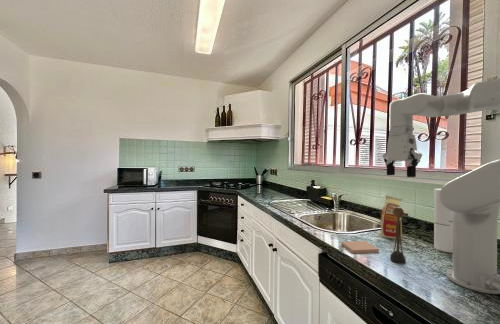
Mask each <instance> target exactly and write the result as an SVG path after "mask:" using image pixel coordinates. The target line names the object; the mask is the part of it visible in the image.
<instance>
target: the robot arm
mask: <svg viewBox="0 0 500 324" xmlns="http://www.w3.org/2000/svg"><path fill="white" fill-rule="evenodd" d="M493 110H500V78H495V79H489V80H484V81H479V82H476V83H473V84H471V86H470V87H469V88H468V89H466V90H464V91H461V92H457V93H453V94H445V95H439V96H438V95H433V94H428V93H424V92H422V93H421V92H420V93H416V94H413V95H410V96H408V97H406V98H401V99H396V100H392V101H391V102H390V103H389V120H388V121H389V127H388V128H389V129H388V131H389V132H388V133H389V135H388V140H387V146H386V147H387V148H386V152H385V153H384V154H383V155H382V159H383V161H384V163H385V166H386V175H387V176H395V174H396V173H395V172H396V171H395V170H396V169H395V168H396V167H395V163H396V162H405V163H406V164H407V166H406V177H407V178H415V177H416V176H417V175H416V174H417V167H418V165H419V163H420V162H421V159H422V157H423V154H422V153H421V152H419V151H418V146H417V140H416V139H417V138H416V135H415V134H414V133H413V131H414V130H415V128H414V126H413V125H414V123H413V121H414V116H419V117H426V118H437V117H440V118H441V117H451V116H457V115H465V114H472V113H476V112H483V111H493ZM440 189H441V191H440V201H441V203H442V204H443V205H444V206H445V207H446V208H447V209H449V210H451V211H453V212H454V216H453V253H452V268H448V269H447V270H446V271H445V275H446V277H447V278H448V279H449V280H450V281H451V282H452V283H454V284H457V285H458V286H461V287H463V288H466V289H469V290H471V291H475V292H479V293H485V294H490V295H491V294H492V295H500V274H499V273H498V223H499V222H498V220H499V212H500V158H499V159H496V160H492V161H490V162H488V163H485V164H483V165H481V166H479V167H477V168H475V169H473V170H471V171H468V172H467V173H465V174H463V175H461V176H458V177H456V178H454V179H452V180H450V181H448V182H447V183H446V184H444V185H443V186H442V187H441V188H440Z"/></svg>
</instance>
